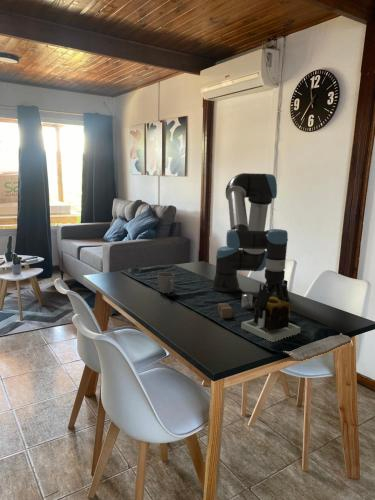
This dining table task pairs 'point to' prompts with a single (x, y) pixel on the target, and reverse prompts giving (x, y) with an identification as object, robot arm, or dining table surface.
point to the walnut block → (224, 310)
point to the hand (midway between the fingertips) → (270, 322)
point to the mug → (166, 282)
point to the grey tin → (247, 301)
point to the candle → (275, 314)
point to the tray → (270, 335)
